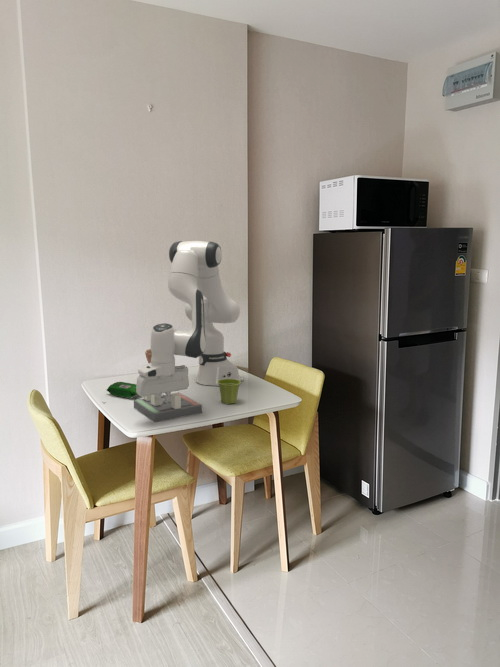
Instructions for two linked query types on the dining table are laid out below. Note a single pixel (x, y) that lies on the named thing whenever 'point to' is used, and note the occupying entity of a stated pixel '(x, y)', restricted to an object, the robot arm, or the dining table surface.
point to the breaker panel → (167, 408)
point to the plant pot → (229, 390)
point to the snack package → (122, 389)
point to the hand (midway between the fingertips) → (163, 403)
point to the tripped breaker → (175, 401)
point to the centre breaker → (154, 400)
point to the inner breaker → (147, 398)
